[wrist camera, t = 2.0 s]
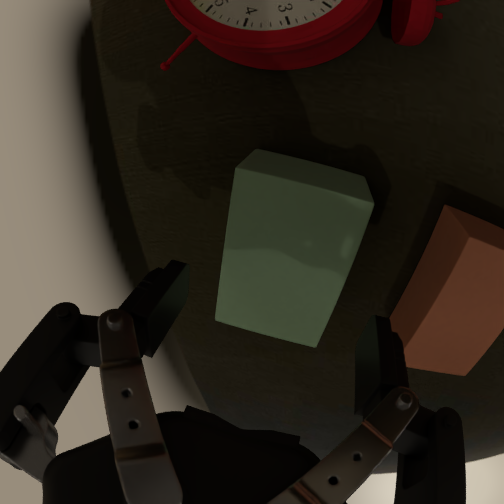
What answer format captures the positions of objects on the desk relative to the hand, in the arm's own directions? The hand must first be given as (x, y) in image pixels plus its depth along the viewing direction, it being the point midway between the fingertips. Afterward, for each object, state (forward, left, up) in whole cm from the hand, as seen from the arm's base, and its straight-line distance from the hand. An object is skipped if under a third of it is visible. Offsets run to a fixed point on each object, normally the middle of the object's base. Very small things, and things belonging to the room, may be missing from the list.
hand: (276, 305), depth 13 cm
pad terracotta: (0, +11, -6) cm, 13 cm away
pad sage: (0, 0, -6) cm, 6 cm away
